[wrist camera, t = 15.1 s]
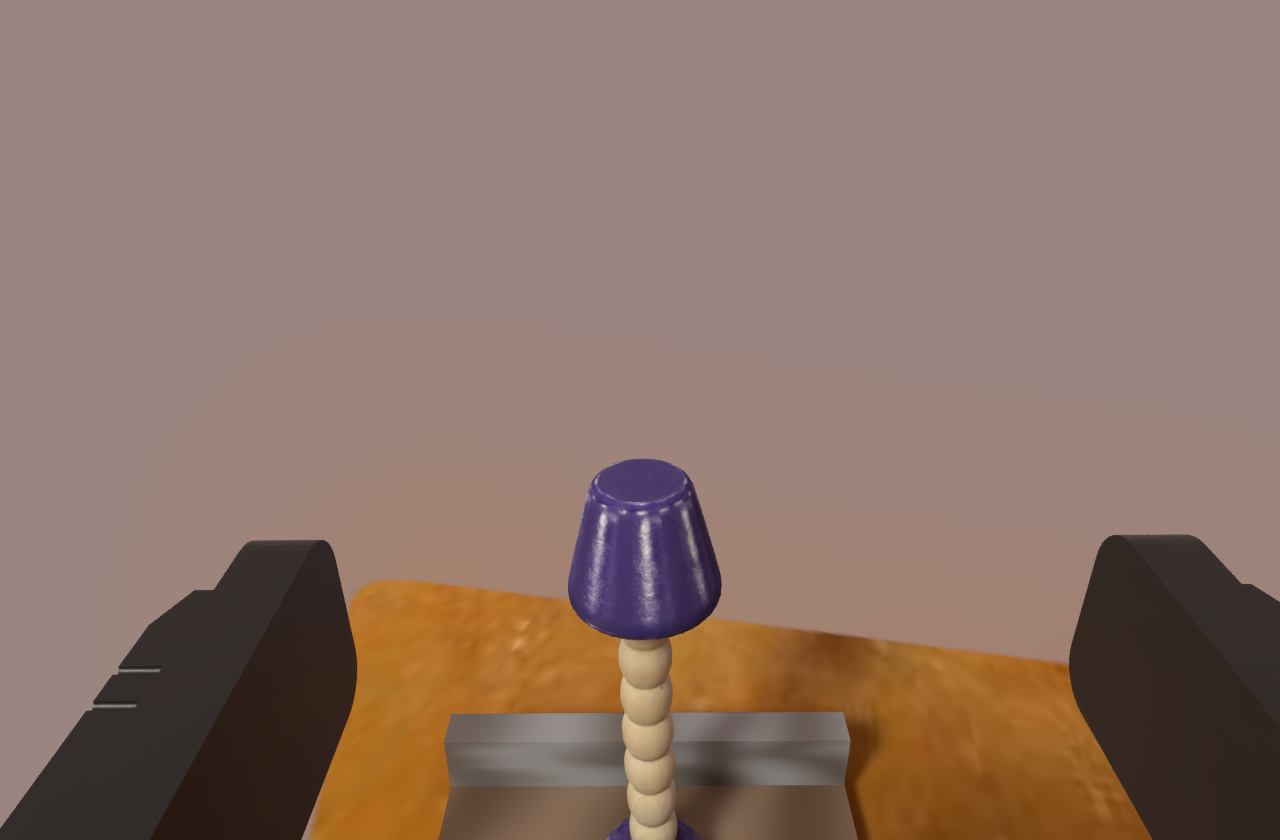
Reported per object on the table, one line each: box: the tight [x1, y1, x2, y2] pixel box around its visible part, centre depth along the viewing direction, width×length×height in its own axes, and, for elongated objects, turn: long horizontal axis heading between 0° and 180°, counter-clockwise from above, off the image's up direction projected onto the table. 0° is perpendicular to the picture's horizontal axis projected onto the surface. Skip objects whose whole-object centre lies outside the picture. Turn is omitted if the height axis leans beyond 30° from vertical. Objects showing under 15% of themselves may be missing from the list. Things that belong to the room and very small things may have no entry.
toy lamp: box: [568, 459, 722, 840], centre depth 29 cm, size 5×5×17 cm
